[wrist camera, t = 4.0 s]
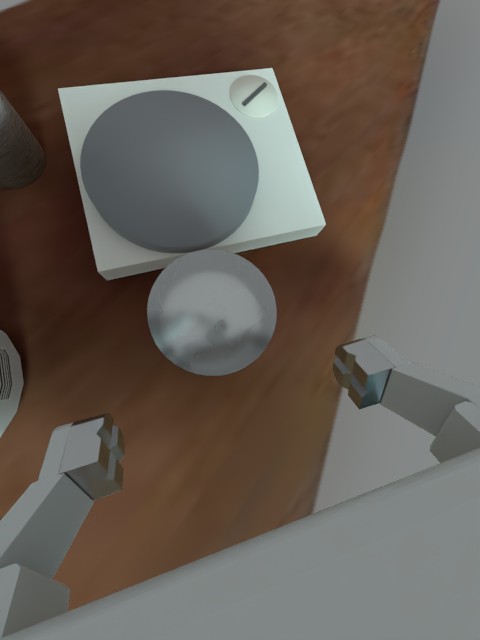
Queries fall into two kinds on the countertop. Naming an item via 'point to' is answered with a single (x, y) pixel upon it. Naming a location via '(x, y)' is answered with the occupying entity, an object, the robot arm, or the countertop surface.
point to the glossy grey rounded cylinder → (211, 312)
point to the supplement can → (9, 381)
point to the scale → (187, 168)
